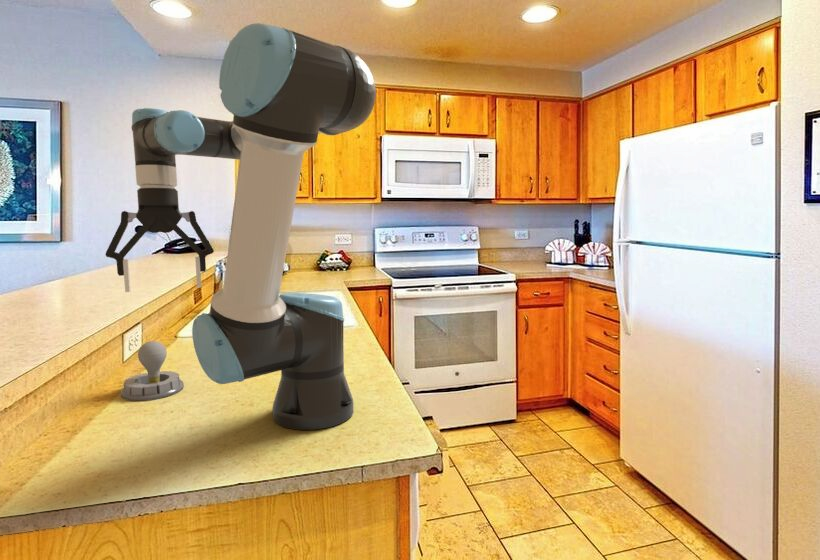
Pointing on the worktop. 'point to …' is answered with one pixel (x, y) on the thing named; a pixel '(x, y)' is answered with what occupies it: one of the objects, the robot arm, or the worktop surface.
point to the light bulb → (152, 359)
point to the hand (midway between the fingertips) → (164, 289)
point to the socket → (151, 387)
